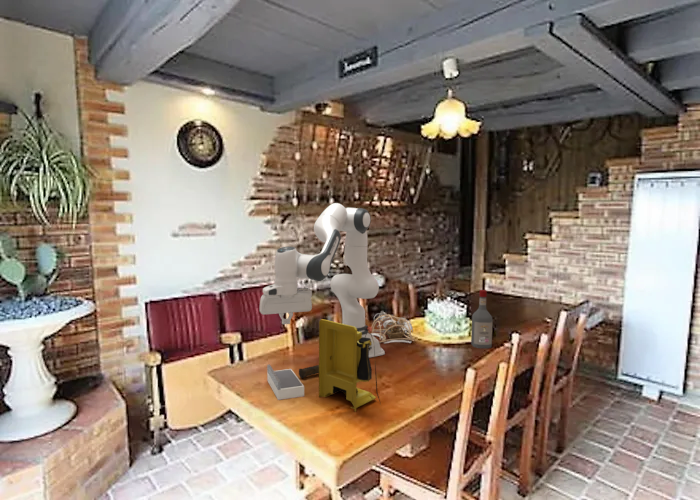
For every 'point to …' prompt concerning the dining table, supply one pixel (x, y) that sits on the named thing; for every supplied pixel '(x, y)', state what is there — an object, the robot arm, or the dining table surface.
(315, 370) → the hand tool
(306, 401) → the dining table surface
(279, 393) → the grey open box
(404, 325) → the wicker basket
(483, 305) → the liquor
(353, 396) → the vintage telephone
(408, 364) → the dining table surface
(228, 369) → the dining table surface
